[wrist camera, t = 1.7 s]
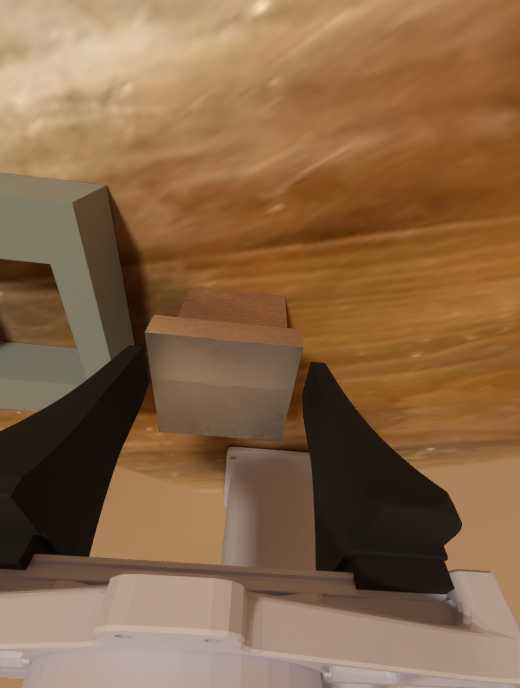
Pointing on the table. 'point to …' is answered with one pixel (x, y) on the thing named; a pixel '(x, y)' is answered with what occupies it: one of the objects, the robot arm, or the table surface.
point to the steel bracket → (224, 365)
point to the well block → (63, 284)
